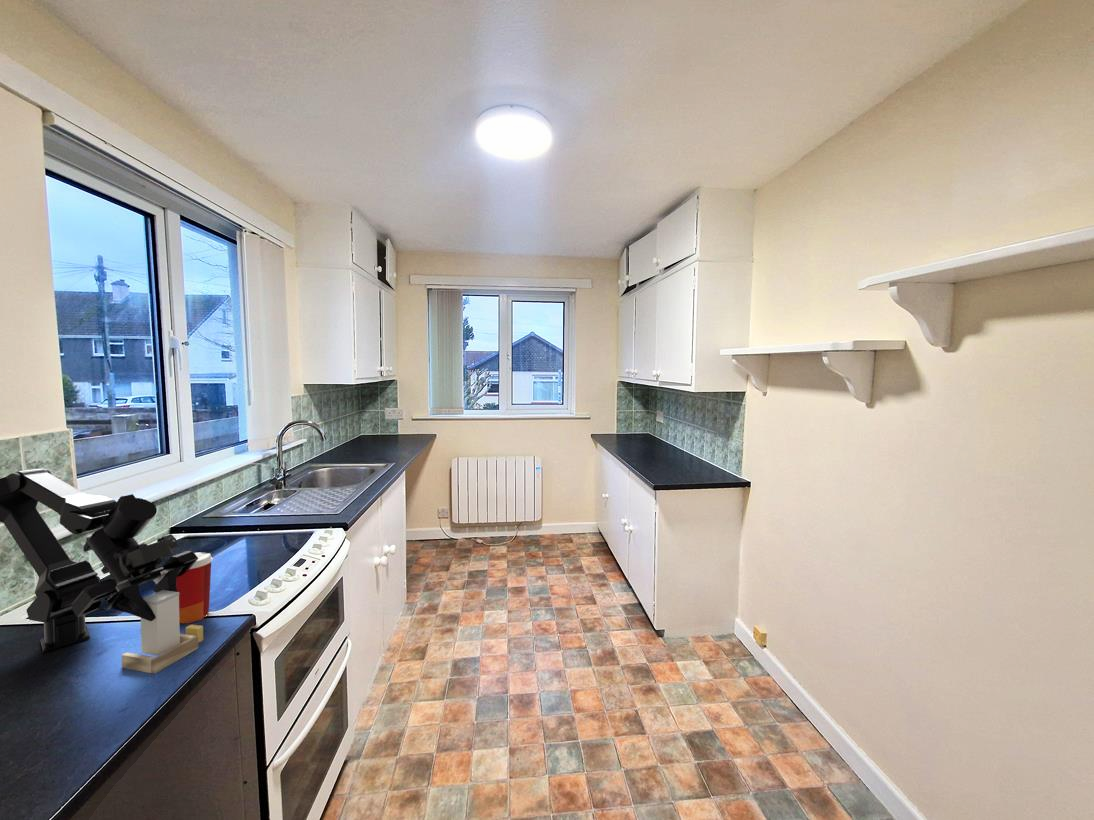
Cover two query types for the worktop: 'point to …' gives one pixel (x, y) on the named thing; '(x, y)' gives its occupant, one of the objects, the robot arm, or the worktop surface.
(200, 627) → the mustard block
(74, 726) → the worktop surface
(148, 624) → the white plug
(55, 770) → the worktop surface
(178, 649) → the bay
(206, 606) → the paper cup
